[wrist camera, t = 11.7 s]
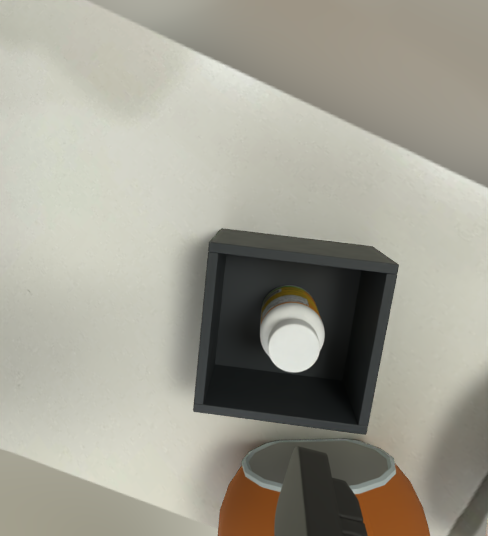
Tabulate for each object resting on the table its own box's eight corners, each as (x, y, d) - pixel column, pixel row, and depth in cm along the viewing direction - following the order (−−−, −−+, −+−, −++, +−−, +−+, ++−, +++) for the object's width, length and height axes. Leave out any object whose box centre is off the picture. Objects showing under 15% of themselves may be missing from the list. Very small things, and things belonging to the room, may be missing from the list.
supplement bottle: (312, 339, 43) (325, 385, 33) (258, 333, 43) (255, 377, 34) (319, 286, 42) (334, 319, 32) (263, 281, 42) (262, 311, 32)
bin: (221, 228, 42) (209, 241, 33) (372, 246, 41) (399, 264, 33) (207, 367, 45) (193, 412, 36) (348, 385, 44) (366, 435, 36)
